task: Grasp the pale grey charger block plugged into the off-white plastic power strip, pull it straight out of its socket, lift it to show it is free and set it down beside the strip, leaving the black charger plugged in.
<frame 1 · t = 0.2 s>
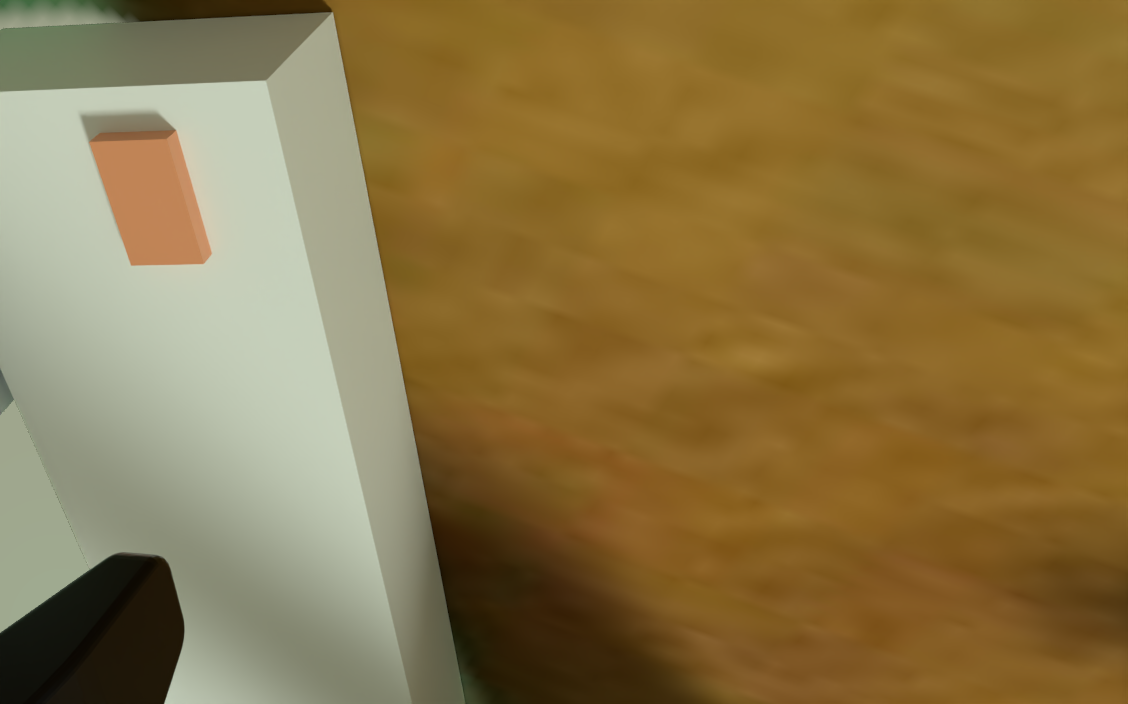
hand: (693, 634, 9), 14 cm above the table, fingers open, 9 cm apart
power strip: (284, 448, 27), on the table
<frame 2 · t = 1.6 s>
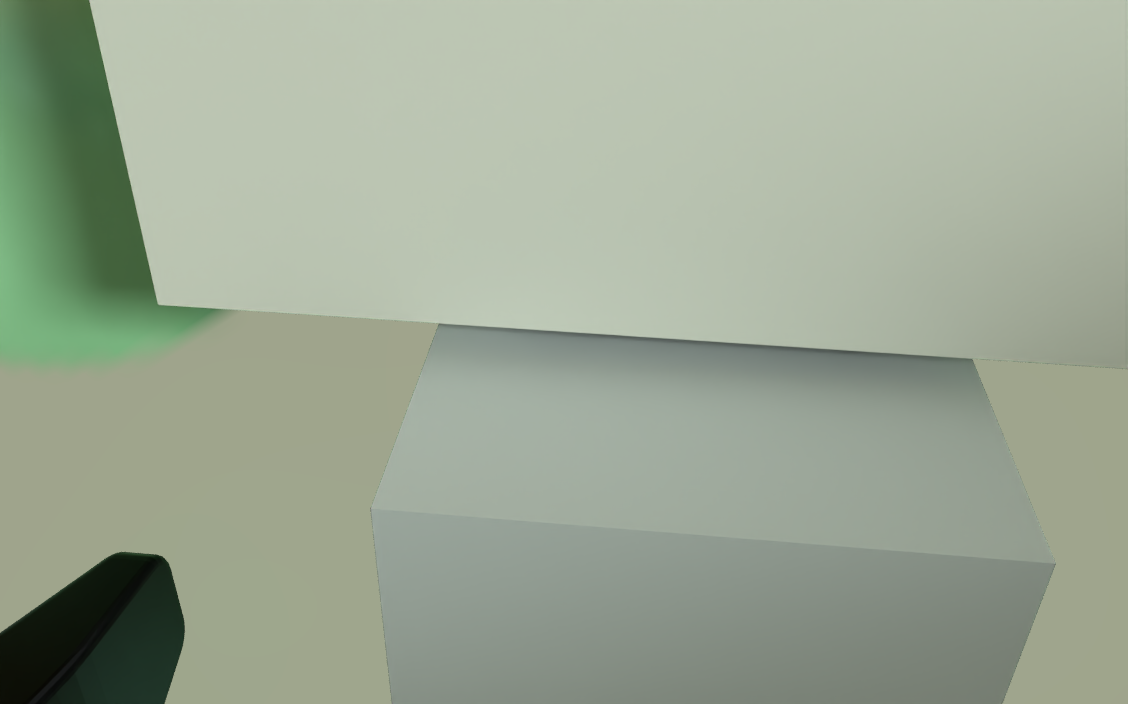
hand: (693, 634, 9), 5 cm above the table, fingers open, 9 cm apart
grey charger: (682, 319, 13), resting in power strip
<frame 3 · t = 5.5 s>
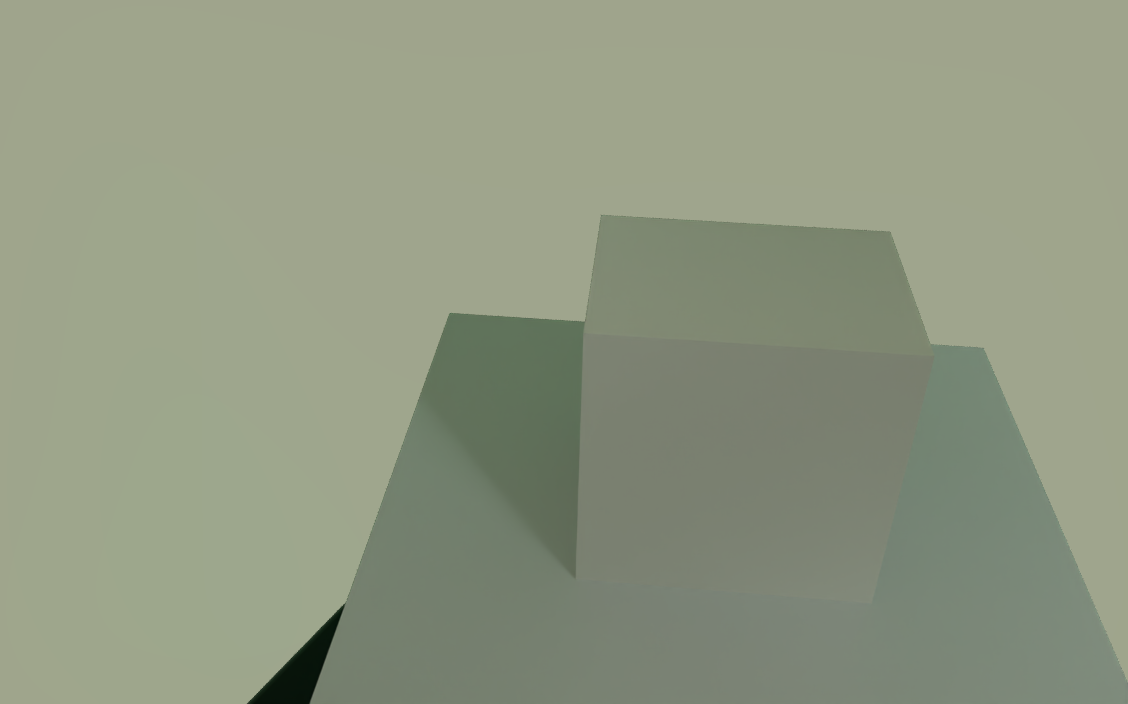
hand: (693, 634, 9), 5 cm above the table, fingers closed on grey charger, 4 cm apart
grey charger: (691, 507, 10), point 3 cm above the table, touching gripper
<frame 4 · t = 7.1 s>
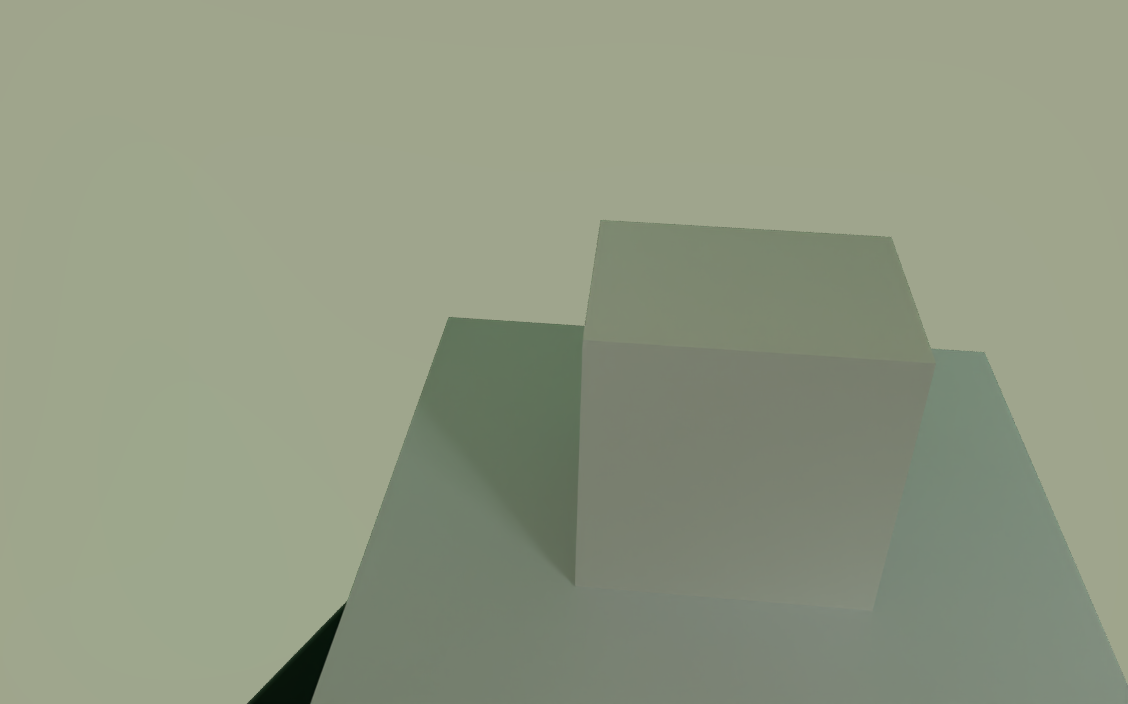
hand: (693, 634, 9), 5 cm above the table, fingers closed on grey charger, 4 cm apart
grey charger: (691, 511, 10), point 3 cm above the table, touching gripper
when the fingers open (2 cm above the table, at t = 8.3 s): grey charger stays where it is, on the table.
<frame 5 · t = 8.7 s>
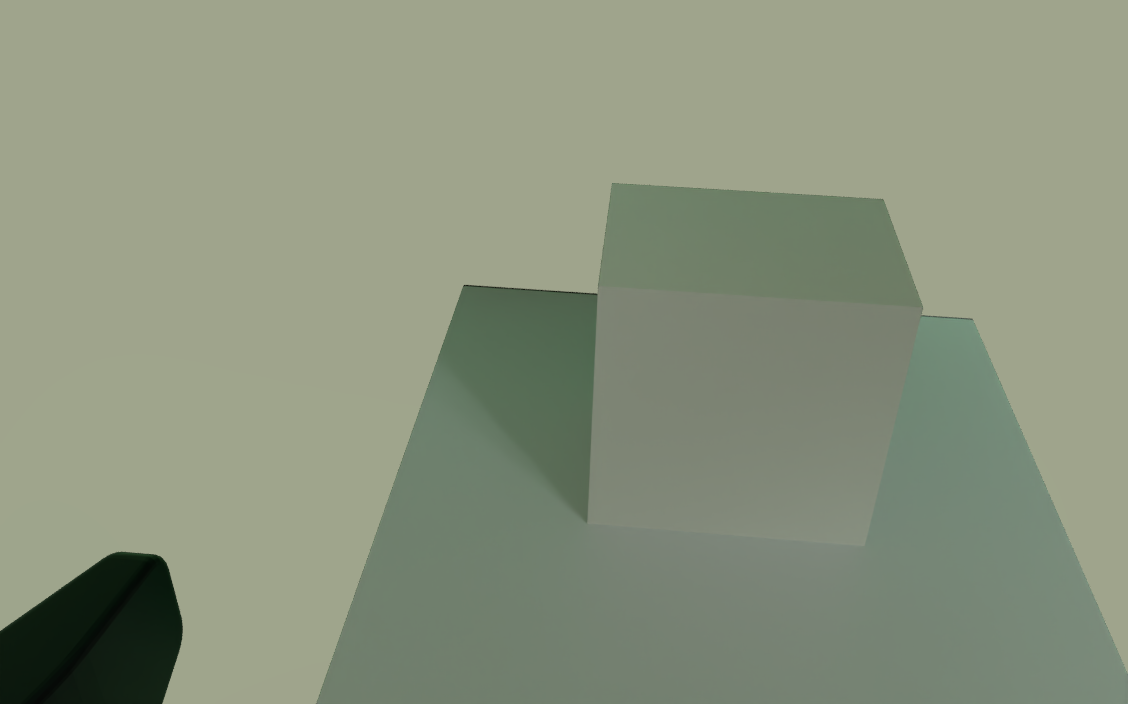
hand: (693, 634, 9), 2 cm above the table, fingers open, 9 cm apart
grey charger: (693, 474, 10), on the table
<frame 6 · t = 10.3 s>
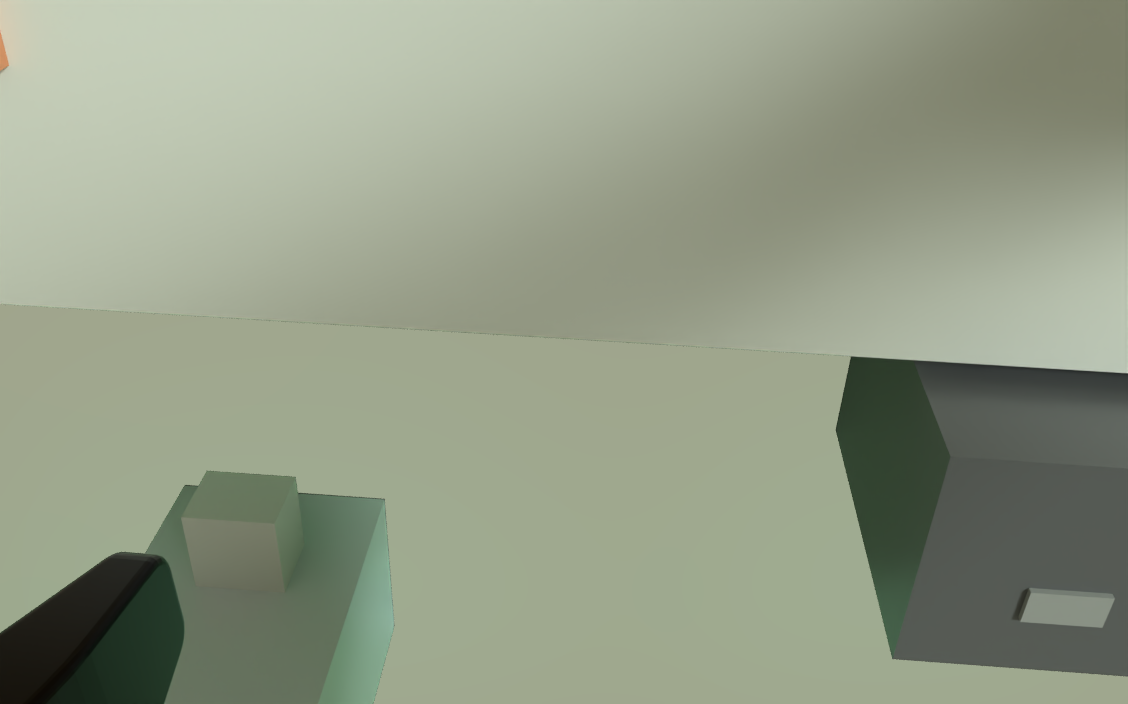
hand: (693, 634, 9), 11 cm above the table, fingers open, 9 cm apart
black charger: (970, 353, 20), resting in power strip
power strip: (596, 33, 17), on the table
grey charger: (293, 558, 24), on the table
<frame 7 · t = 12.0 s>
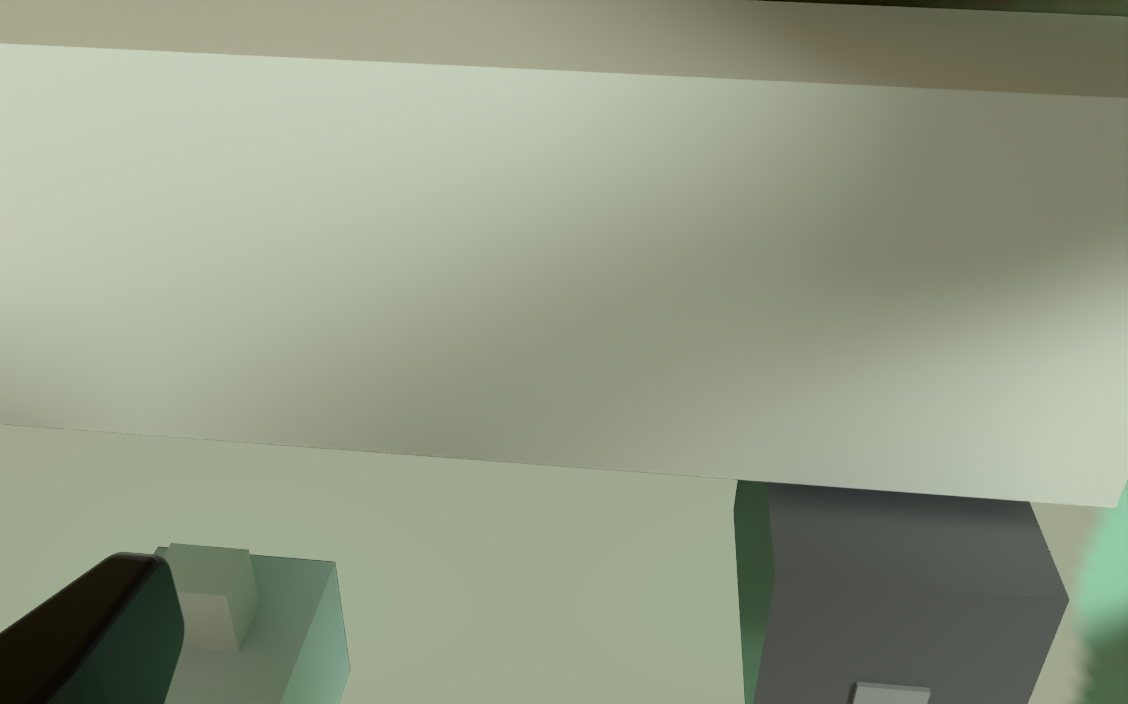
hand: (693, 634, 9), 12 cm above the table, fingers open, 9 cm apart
black charger: (849, 448, 23), resting in power strip
power strip: (496, 179, 20), on the table
grey charger: (257, 610, 27), on the table
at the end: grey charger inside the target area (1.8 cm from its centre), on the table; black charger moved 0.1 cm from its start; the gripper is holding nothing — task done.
